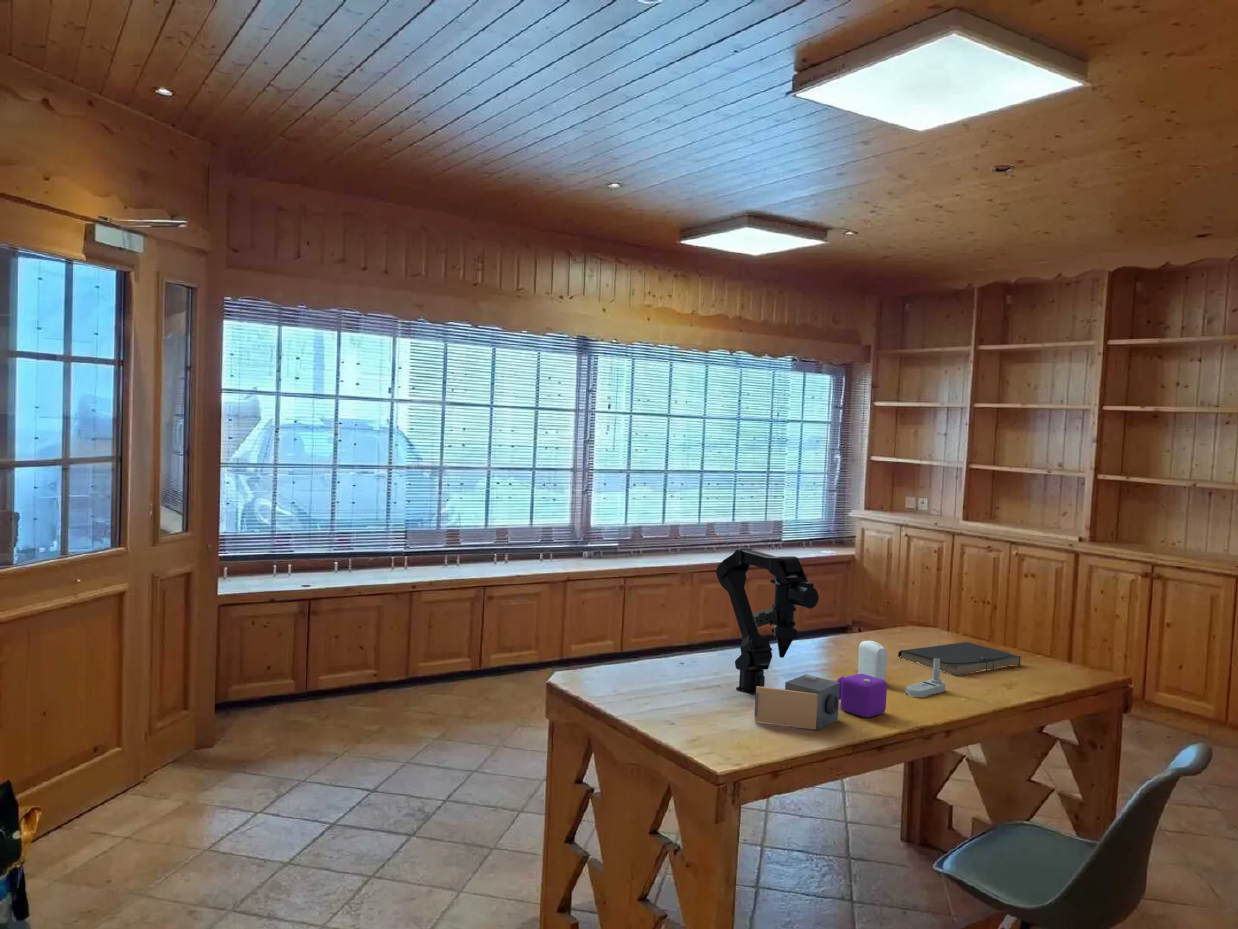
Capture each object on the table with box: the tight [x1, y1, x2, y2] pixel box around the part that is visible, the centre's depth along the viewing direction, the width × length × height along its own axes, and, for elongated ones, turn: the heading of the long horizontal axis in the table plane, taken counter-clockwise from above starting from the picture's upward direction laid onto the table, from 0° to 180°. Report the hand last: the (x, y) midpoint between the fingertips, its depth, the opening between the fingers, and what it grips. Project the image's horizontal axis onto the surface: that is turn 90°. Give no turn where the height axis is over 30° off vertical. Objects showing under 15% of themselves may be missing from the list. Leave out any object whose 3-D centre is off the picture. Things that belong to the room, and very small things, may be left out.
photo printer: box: [857, 640, 888, 682], centre depth 267 cm, size 10×4×12 cm, turn 20°
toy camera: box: [836, 673, 888, 719], centre depth 238 cm, size 11×14×10 cm
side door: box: [754, 686, 822, 731], centre depth 223 cm, size 17×2×9 cm, turn 74°
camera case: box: [784, 674, 840, 729], centre depth 228 cm, size 11×11×11 cm
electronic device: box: [905, 658, 946, 698], centre depth 258 cm, size 5×10×15 cm
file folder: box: [897, 641, 1022, 676], centre depth 296 cm, size 33×4×24 cm
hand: (781, 657), depth 241 cm, fingers closed
